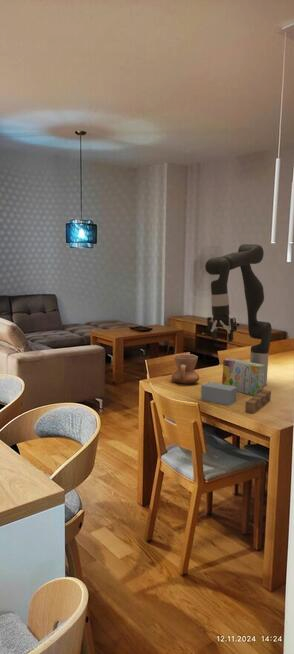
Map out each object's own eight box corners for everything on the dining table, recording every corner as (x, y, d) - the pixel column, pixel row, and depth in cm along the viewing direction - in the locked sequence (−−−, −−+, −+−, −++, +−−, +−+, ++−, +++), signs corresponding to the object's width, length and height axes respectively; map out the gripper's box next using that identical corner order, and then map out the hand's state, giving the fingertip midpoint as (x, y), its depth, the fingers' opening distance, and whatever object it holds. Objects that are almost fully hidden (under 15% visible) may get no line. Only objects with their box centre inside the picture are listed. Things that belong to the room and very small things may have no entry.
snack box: (263, 395, 230) (265, 364, 228) (256, 397, 226) (259, 366, 224) (227, 385, 245) (229, 357, 243) (220, 387, 241) (222, 358, 239)
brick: (208, 396, 225) (209, 382, 224) (236, 401, 218) (237, 386, 217) (200, 400, 219) (201, 385, 218) (229, 406, 211) (230, 390, 210)
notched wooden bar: (262, 399, 223) (263, 389, 222) (270, 400, 221) (270, 391, 220) (245, 412, 202) (245, 402, 202) (252, 413, 201) (253, 403, 200)
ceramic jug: (175, 377, 259) (176, 351, 257) (202, 379, 255) (202, 353, 252) (167, 386, 242) (167, 358, 240) (195, 388, 238) (196, 361, 236)
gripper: (238, 303, 204) (241, 340, 206) (212, 302, 214) (215, 338, 216) (228, 305, 199) (230, 343, 201) (202, 305, 209) (204, 341, 211)
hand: (222, 340), depth 209 cm, fingers open, 8 cm apart
